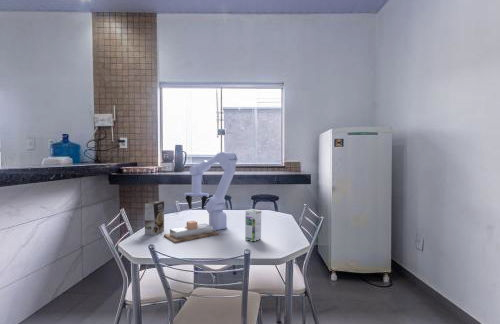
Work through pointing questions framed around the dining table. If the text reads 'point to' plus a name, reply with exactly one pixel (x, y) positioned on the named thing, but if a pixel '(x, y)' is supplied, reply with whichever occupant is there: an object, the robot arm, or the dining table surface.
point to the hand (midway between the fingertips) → (196, 208)
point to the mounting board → (190, 237)
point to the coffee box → (154, 217)
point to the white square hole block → (190, 231)
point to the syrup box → (253, 225)
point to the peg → (191, 225)
